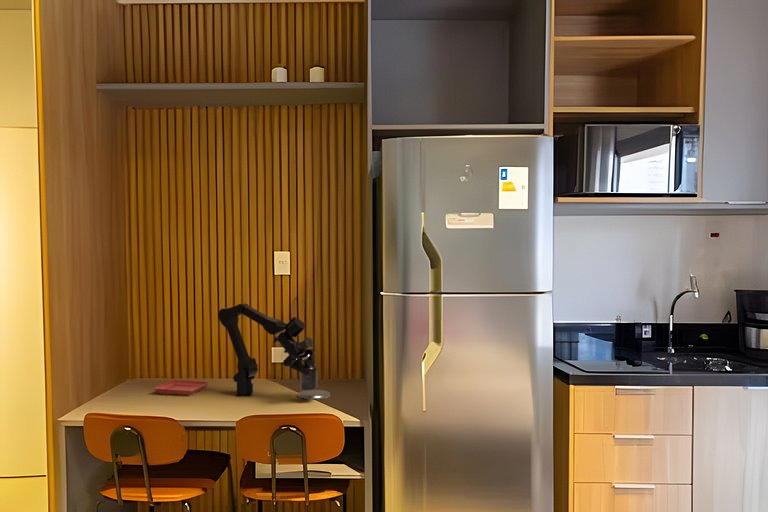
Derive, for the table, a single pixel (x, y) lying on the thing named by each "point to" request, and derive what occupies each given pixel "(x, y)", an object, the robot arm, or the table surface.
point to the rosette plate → (313, 394)
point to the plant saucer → (181, 387)
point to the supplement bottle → (309, 375)
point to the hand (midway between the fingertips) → (312, 372)
